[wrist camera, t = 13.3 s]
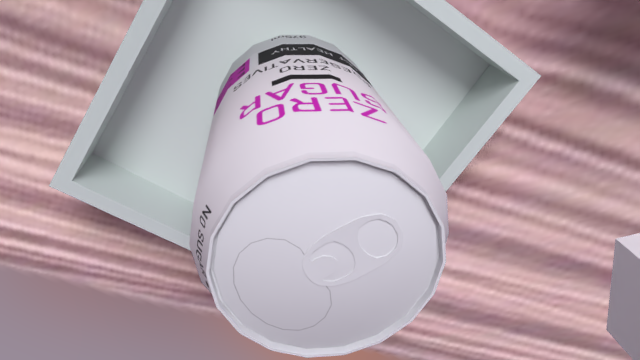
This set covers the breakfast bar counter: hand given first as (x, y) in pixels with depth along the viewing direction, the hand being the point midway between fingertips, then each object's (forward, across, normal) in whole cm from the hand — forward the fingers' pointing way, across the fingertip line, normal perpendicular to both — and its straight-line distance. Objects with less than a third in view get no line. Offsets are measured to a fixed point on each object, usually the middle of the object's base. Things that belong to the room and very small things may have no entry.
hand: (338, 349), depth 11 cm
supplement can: (+18, 0, 0) cm, 19 cm away
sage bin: (+19, 0, 0) cm, 19 cm away
